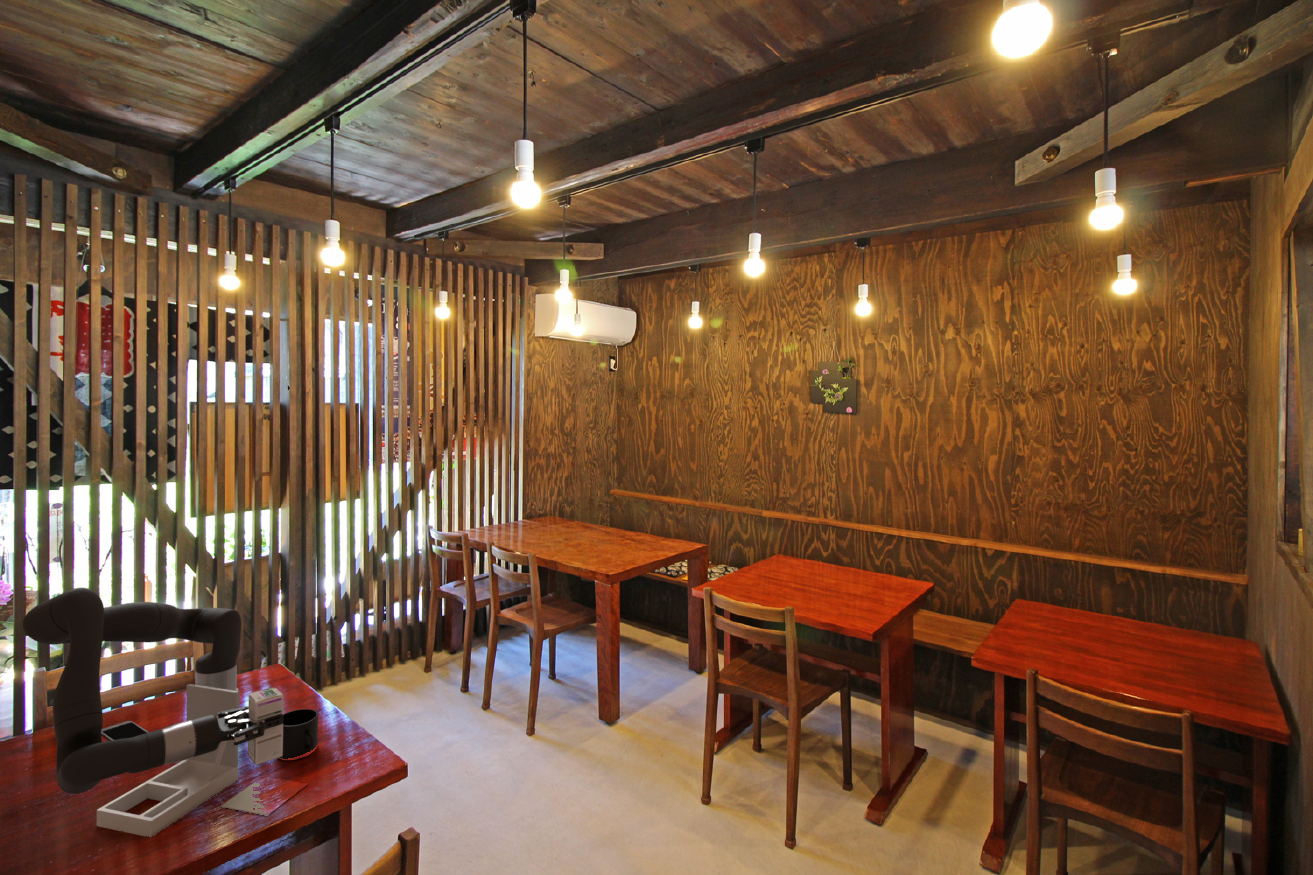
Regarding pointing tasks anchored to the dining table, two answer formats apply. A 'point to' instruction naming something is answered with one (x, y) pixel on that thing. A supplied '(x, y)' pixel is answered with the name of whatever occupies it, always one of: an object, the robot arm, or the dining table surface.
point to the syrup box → (272, 740)
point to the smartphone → (122, 731)
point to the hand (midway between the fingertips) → (278, 713)
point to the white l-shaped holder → (180, 775)
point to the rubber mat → (246, 801)
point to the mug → (299, 732)
